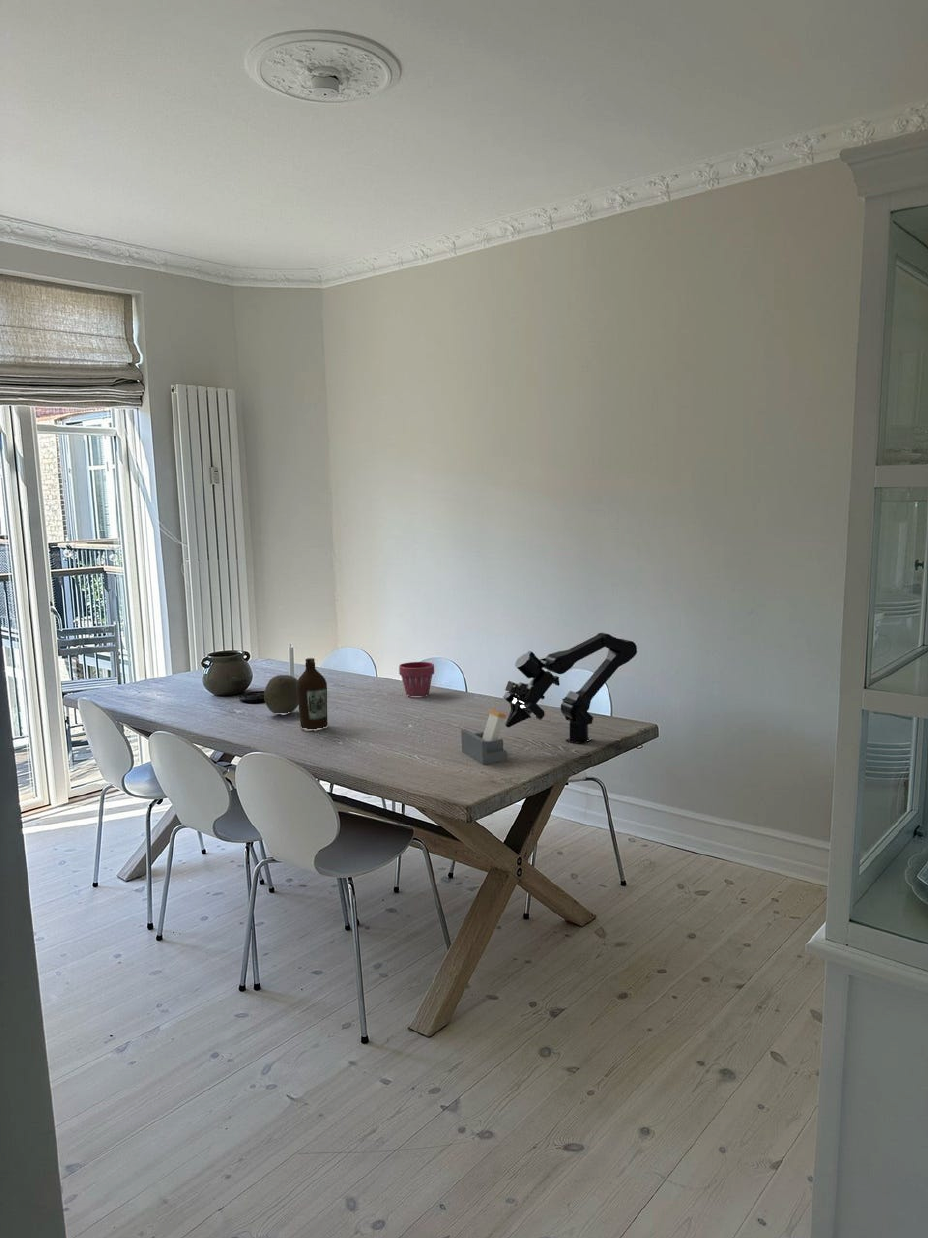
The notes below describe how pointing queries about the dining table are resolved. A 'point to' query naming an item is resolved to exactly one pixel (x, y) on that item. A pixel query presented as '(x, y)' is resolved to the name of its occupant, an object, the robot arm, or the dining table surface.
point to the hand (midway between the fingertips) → (506, 726)
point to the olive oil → (312, 697)
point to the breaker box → (482, 748)
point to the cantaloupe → (281, 694)
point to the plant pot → (417, 677)
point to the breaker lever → (493, 725)
